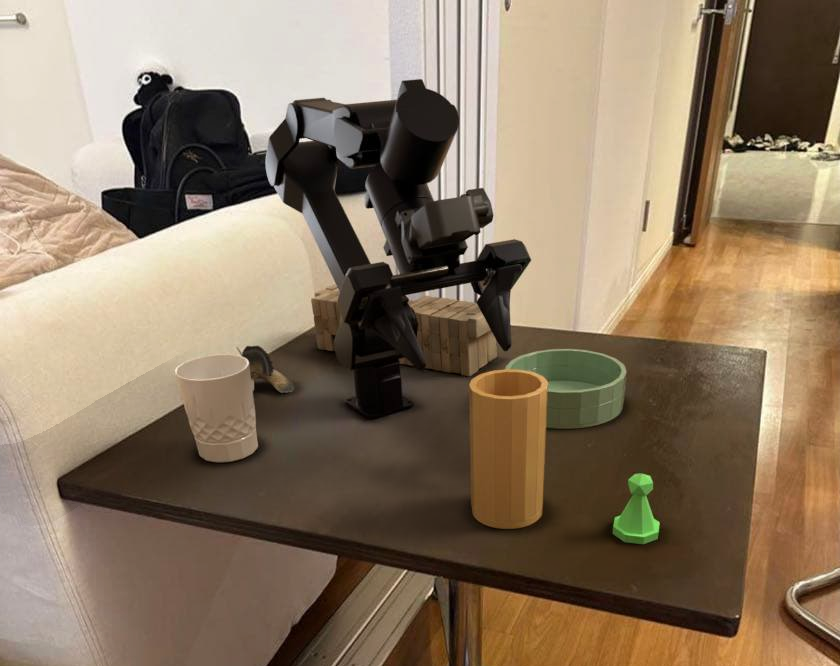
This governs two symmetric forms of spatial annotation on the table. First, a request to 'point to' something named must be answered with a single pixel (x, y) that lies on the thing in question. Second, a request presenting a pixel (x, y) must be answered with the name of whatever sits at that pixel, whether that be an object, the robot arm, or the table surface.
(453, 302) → the block tower
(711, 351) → the table surface
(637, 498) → the game piece
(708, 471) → the table surface
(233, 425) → the white cup
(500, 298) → the robot arm
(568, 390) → the pan
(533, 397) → the tumbler
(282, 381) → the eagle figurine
